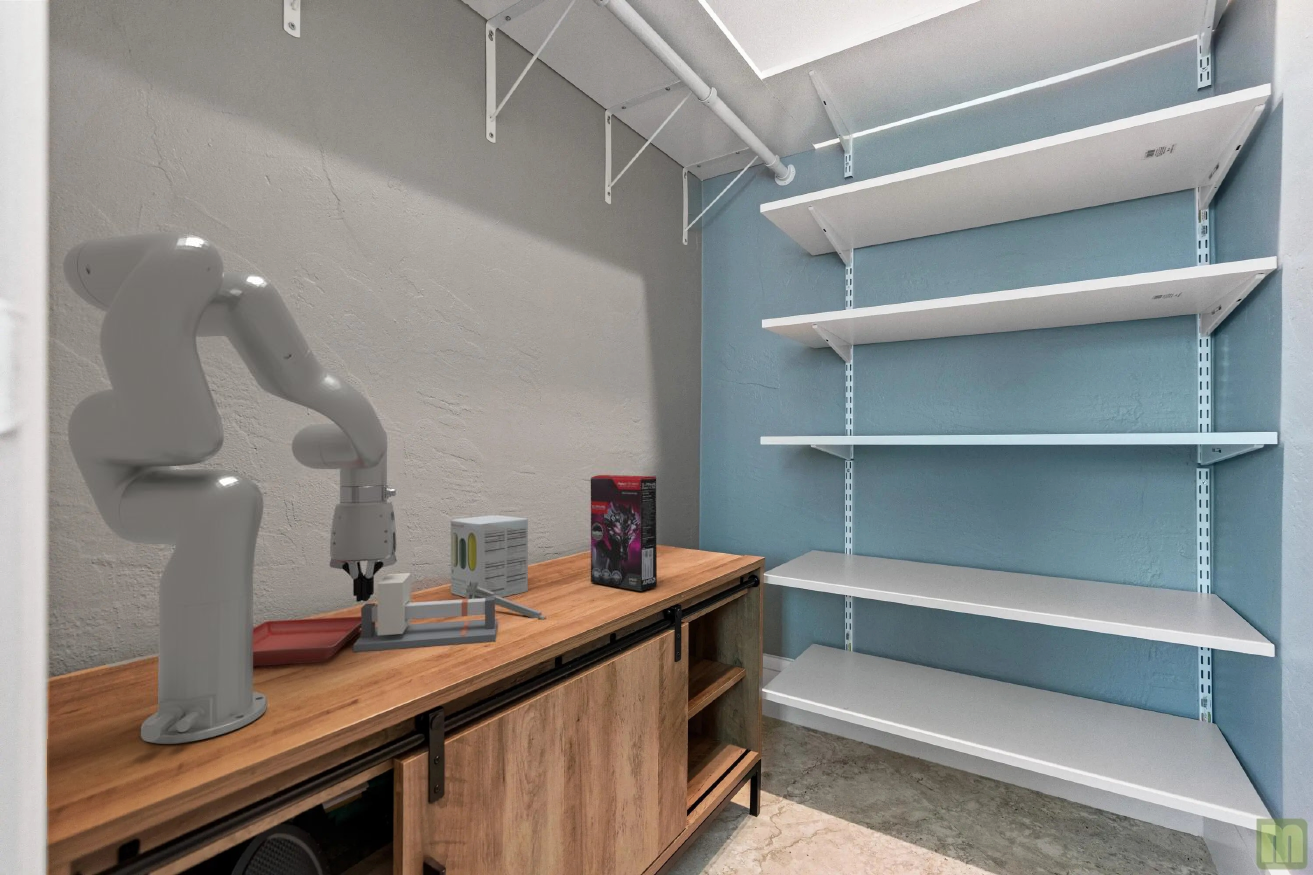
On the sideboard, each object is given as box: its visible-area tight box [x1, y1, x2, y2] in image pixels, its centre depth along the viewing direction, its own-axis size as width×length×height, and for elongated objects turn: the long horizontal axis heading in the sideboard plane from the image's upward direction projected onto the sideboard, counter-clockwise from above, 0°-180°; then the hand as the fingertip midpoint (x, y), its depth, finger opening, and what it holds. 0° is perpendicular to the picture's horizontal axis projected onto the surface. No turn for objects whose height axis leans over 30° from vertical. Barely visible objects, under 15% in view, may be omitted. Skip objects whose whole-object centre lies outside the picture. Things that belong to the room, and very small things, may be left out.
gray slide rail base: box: [353, 596, 498, 653], centre depth 107 cm, size 10×23×6 cm, turn 103°
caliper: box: [464, 580, 547, 620], centre depth 122 cm, size 20×1×6 cm, turn 65°
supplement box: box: [450, 514, 529, 599], centre depth 140 cm, size 13×13×18 cm
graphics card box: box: [590, 474, 658, 592], centre depth 146 cm, size 17×7×27 cm, turn 53°
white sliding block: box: [376, 572, 412, 635], centre depth 105 cm, size 8×4×9 cm, turn 13°
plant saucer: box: [253, 615, 361, 667], centre depth 101 cm, size 18×18×3 cm
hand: (363, 599), depth 104 cm, fingers closed
